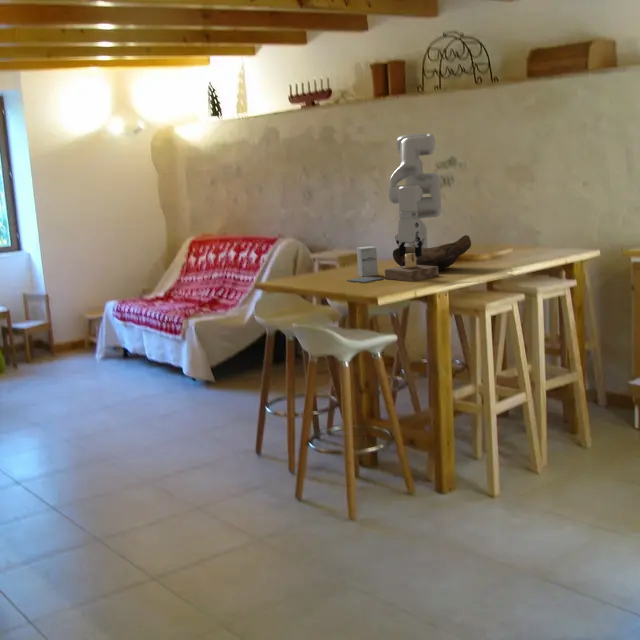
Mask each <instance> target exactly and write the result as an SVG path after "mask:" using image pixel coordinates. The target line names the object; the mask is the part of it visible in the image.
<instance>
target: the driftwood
mask: <svg viewBox="0 0 640 640" xmlns="http://www.w3.org/2000/svg"><path fill="white" fill-rule="evenodd" d="M471 247H472V240H471V238H470V236H469V235H467V234H466V235H463V236H461V237H460V238H459V239H458V240H455V242H451V243H446V244H442V245H439V246H433V247H428V248H421V250H422V256H420V257H417V265H426V266H438V271H440V270H444V269H447V268H448V267H450V266H452V265H454V264H455V263H456V262H457V260H458V259H459V257H460V256H461V255H463V254H465V253H466V252H467V251H468V250H469V249H471ZM405 248H406V254H409V253H415V248H414V247H407V246H405ZM392 258H393V260H394V262H395V263H396V264H397V265H399V267H401V266H405V256H399V247H397V248H395V249H394V250H393V251H392Z"/></svg>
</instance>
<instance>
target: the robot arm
mask: <svg viewBox="0 0 640 640" xmlns="http://www.w3.org/2000/svg"><path fill="white" fill-rule="evenodd" d="M435 138H436V137H435V136H434V134H433V133H431V132H430V133H429V132H428V133H418V134H417V133H415V134H405V135H401V136H398V137H397V140H396V147H397V152H398V154H399V166H398V167H397V168H396V169H395V170H394V171H393V173H392V174H391V175H390V178H389V181H388V199H389V201H390V203H392V204H398V214H399V219H398V224H397V225H398V228H397V229H398V233H397V234H396V235H395V236H394V239H395V243H396V244H397V248H399V256H405V254H406V248H405V247H414V248H415V257H420V256H422V250H421V248H429V247H428V229H427V225H426V224H425V223H424V222H423V221H422V220H421V219H425V218H426V219H428V218H437V217H439V216H440V215H441V212H442V196H441V195H442V193H441V180H440V176H439V175H438V174H437V173H436V172H424V167H423V166H424V163H423V161H422V159H420V156H421V157H422V156H431V155H433V153H434V151H435V149H436V139H435ZM403 180H404V184H403V185H398V183H400V182H401V181H403ZM423 195H429V196H423ZM405 245H406V246H405Z"/></svg>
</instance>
